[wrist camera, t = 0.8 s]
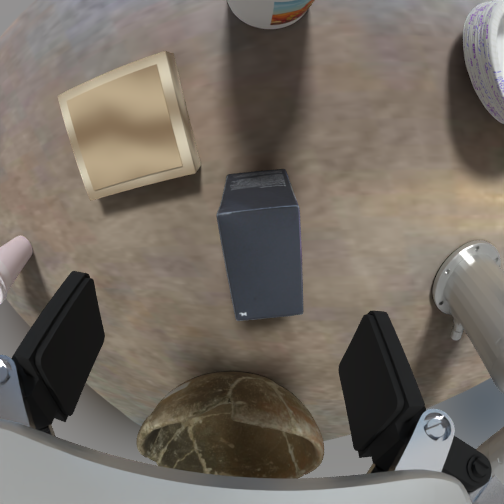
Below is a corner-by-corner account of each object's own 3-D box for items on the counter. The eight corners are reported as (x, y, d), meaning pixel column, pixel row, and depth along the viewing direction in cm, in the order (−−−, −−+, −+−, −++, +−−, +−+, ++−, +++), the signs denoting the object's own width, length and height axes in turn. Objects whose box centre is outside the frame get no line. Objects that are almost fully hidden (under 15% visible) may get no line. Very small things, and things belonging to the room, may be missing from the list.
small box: (294, 256, 36) (306, 317, 27) (238, 261, 37) (233, 324, 28) (288, 167, 31) (303, 205, 22) (224, 173, 31) (211, 215, 22)
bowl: (128, 336, 44) (97, 417, 31) (309, 317, 41) (326, 413, 28) (186, 424, 57) (177, 486, 44) (316, 415, 55) (324, 481, 42)
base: (201, 164, 31) (195, 173, 28) (102, 191, 32) (89, 201, 29) (173, 53, 25) (164, 50, 22) (72, 93, 26) (56, 96, 23)
